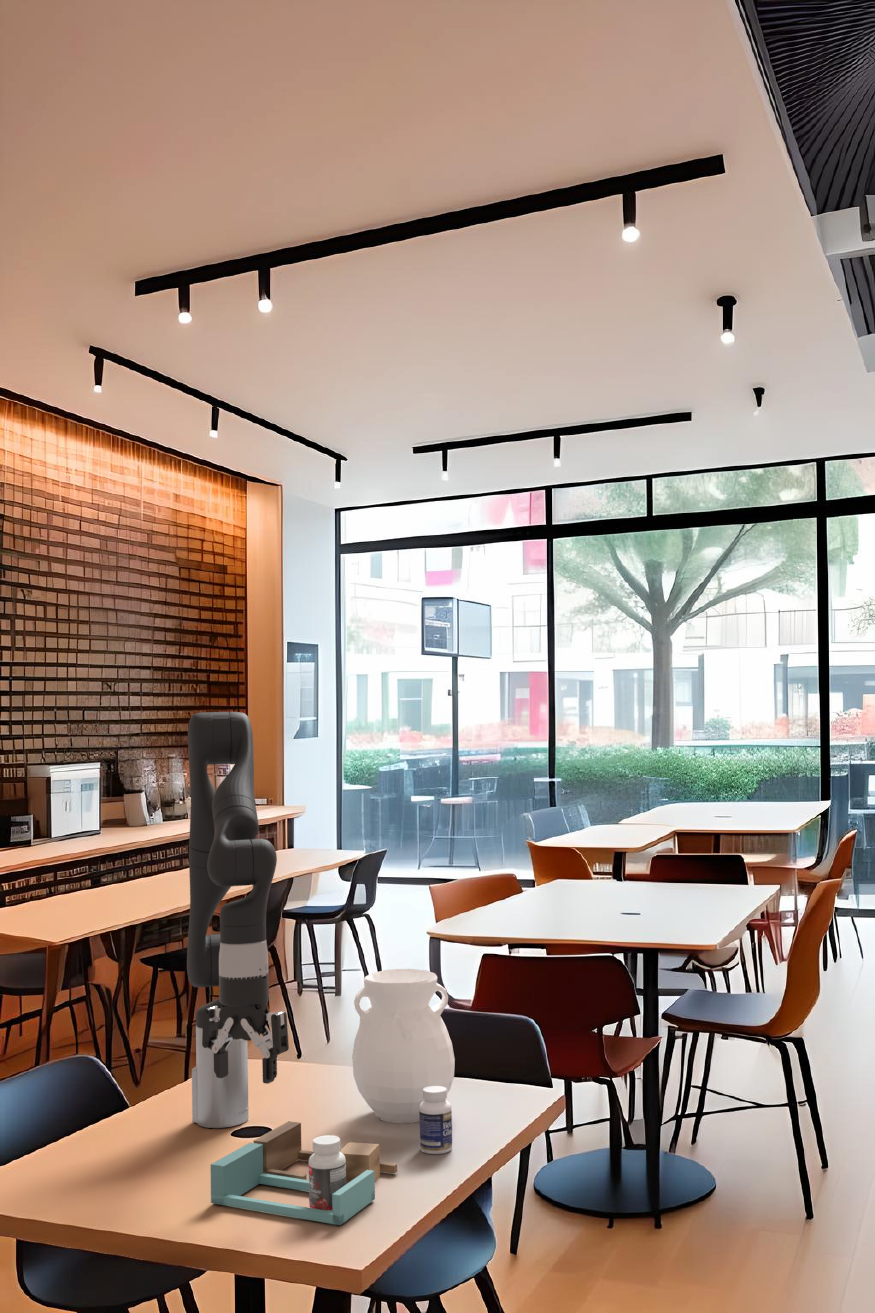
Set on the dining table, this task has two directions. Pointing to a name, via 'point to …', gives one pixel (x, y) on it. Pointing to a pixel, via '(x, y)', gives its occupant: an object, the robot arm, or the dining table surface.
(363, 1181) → the frame
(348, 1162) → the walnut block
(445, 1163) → the dining table surface
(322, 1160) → the pill bottle
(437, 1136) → the pill bottle
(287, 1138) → the walnut lane broken
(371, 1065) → the white vase
